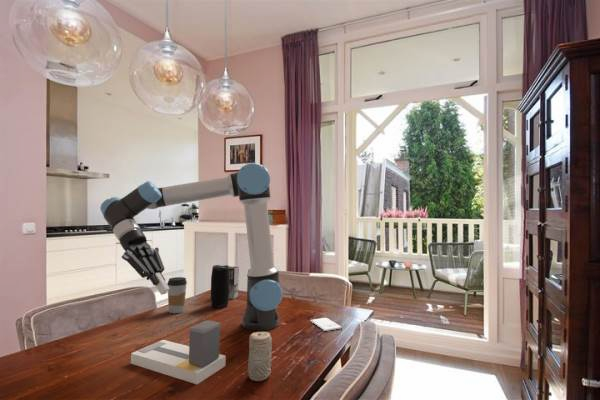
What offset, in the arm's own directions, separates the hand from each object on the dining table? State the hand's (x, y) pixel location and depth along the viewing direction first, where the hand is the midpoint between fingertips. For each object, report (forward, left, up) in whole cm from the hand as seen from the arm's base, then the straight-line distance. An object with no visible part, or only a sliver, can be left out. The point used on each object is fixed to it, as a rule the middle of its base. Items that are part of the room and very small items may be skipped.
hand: (165, 291), depth 102 cm
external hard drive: (-63, -3, -22) cm, 67 cm away
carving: (-22, +24, -21) cm, 39 cm away
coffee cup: (-12, -49, -21) cm, 54 cm away
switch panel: (-4, +5, -21) cm, 22 cm away
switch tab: (-9, +14, -18) cm, 24 cm away
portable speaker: (-32, -49, -21) cm, 62 cm away
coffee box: (-41, -64, -21) cm, 78 cm away
